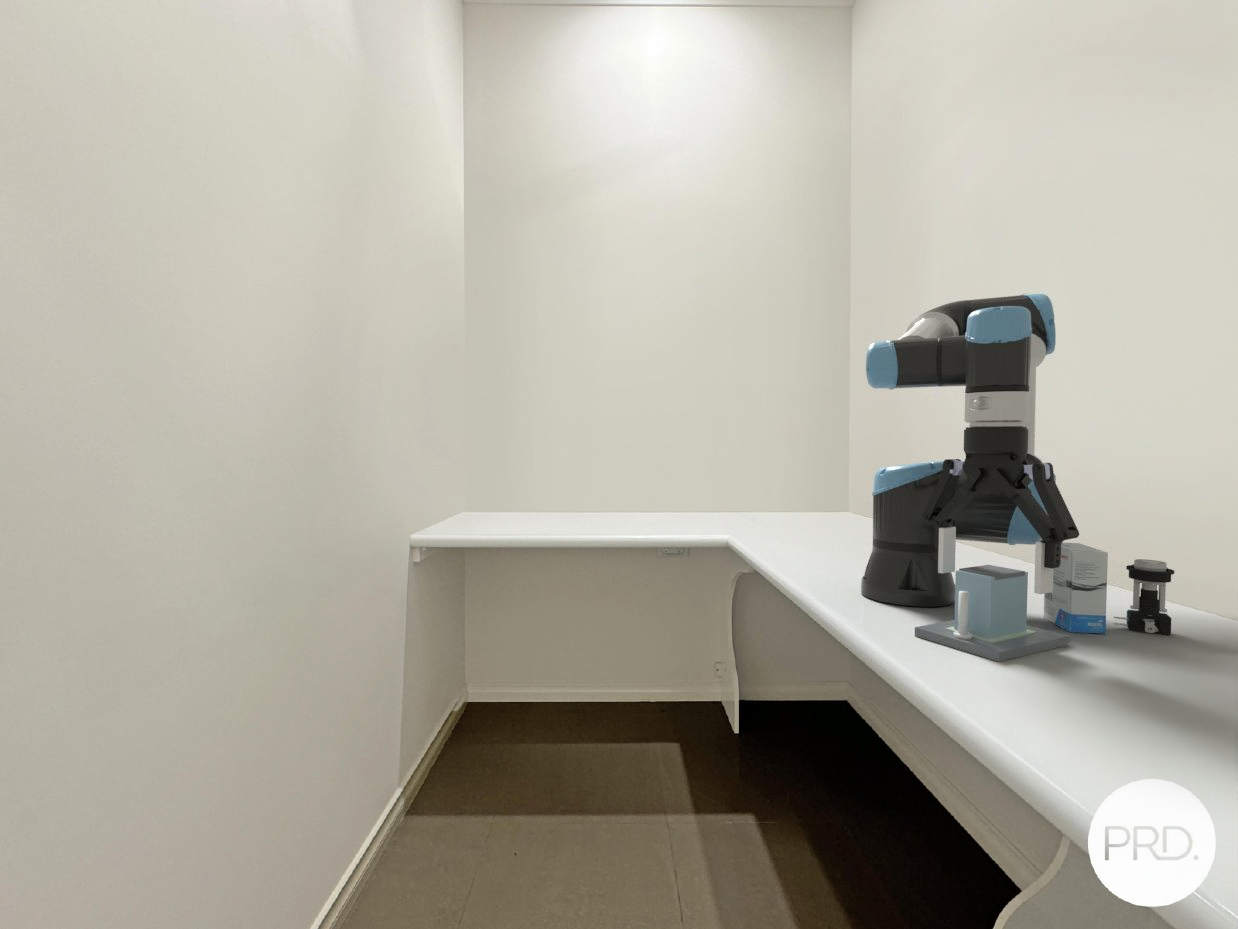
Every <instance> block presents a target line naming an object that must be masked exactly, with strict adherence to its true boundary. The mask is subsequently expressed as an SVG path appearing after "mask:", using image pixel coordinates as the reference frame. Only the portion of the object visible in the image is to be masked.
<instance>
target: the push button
mask: <svg viewBox="0 0 1238 929" xmlns="http://www.w3.org/2000/svg"><path fill="white" fill-rule="evenodd" d="M1133 561H1134V562H1133V564H1130V565H1126V570H1127V571H1128V578H1129V579H1131V580H1133V591H1132V592H1133V593H1132V594H1133V595H1132V605H1130V606H1129V607H1130V609H1127V610H1126V616H1125V617H1124V616H1122V617H1120V616H1113V619H1118V620H1125V621H1126V622H1125V623H1120V622H1119V623H1118V622H1113V623H1112V624H1113V625H1116V626H1124V627H1127V629H1128V630H1129V631H1131V632H1138V633H1139V632H1140V633H1141V632H1142V633H1149V634H1156V635H1158V634H1159V635H1163V636H1170V635H1171V634H1172V617H1171V616H1170V615H1169V614H1168V609H1167V608H1166V590H1167V589H1166V585H1167V584H1166V583H1171V582H1172V575H1175V569H1172V568H1169V567H1168V566H1167V562H1165V561H1163V560H1154V559H1138V558H1137V559H1134V560H1133Z"/></svg>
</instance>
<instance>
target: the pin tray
mask: <svg viewBox="0 0 1238 929" xmlns="http://www.w3.org/2000/svg"><path fill="white" fill-rule="evenodd" d="M968 616H969V592H967V591H959V603H958V630H956V629H954V619H951V620H946V621H941V622H935V623H930V624H925V625H920V626H915V627H914V637H917V638H921V639H924V640H927V641H931V642H933V643H937V644H940V645H944V646H947V647H950V648H953V649H956V650H958V651H962V652H966V653H969V654H972V655H976V656H978V657H982V658H985V659H989V660H991V661H995V662H998V663H1000V662H1004V661H1007V660H1012V659H1016V658H1020V657H1021V658H1022V657H1024V656H1025V657H1026V656H1029V655H1032V654H1037V653H1040V652H1044V651H1048V650H1053V649H1056V648H1062V647H1066V646H1068V645H1070V635H1067V634H1064V633H1059V632H1055V631H1053V630H1048V629H1044V628H1039V627H1036V626H1031V625H1027V624H1026V631H1023V632H1019V633H1014V634H1010V635H1005V636H1001V637H997V638H992V639H988V638H984V637H981V636H977V635H974V634H971V633H969V632H968Z"/></svg>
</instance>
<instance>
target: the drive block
mask: <svg viewBox="0 0 1238 929" xmlns="http://www.w3.org/2000/svg"><path fill="white" fill-rule="evenodd" d="M1028 577H1029V572H1028V571H1025V570H1020V569H1016V568H1010V567H1009V568H1008V567H1002V566H997V565H990V564H983V565H977V566H969V567H962V568H959V569H958V570H955V578H954V579H955V581H954V584H955V603H954V619H953V620H954V629H956V630H958V603H959V591H967V592H969V616H968V632H969V633H971V634H974V635H977V636H981V637H984V638H988V639H992V638H997V637H1001V636H1005V635H1010V634H1014V633H1019V632H1023V631H1026V625H1027V624H1028V623H1027V618H1028V616H1027V615H1028V587H1029V586H1028V585H1029V584H1028V583H1029V581H1028V579H1029V578H1028Z"/></svg>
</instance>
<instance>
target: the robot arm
mask: <svg viewBox="0 0 1238 929" xmlns="http://www.w3.org/2000/svg"><path fill="white" fill-rule="evenodd" d="M1054 313H1055V312H1054V307H1053V303H1052V300H1051V298H1050V297H1049V296H1048V295H1047V294H1044V293H1043V294H1042V293H1033V294H1032V293H1031V294H1030V293H1022V294H1019V295H1010V296H1009V295H1008V296H998V297H989V298H977V299H976V298H975V299H967V300H966V299H965V300H957V301H952V302H949V303H945V304H941V305H939V306H936V307H933V308H931V309H930V310H928V311H925V312H923V313H921V314H920V315H918V316H917V317H915V318H913V319H912V321H911V322H910V324H909V325H908V326H907V329H906V330H905V331H906V332H905V333H904V334H903V335H901V337H900V338H898V339H896V340H890V339H886V340H883V341H876V342H875V341H874V342H872V343H871V344H870V345H869V346H868V348H867V350H866V355H865V356H866V358H865V374H866V380H867V383H868V385H869V386H870V387H871V388H873V389H888V390H895V389H911V388H912V389H913V388H932V387H933V388H934V387H937V388H938V387H939V388H940V387H945V388H946V387H965V389H964V391H965V392H964V393H965V394H964V419H963V420H964V422H965V423H967V424H968V423H969V425H968V426H967V427H965V429H963V452H964V453H965V459H964V461H962V460H961V459H959V458H952V459H948V458H947V459H946V458H945V459H944V460H943V461H930V462H917V463H908V464H901V465H889V466H884V467H881V468H879V469H878V470H877V471H875V475H874V480H873V491H872V498H873V499H872V502H873V504H872V549H871V552H870V556H869V559H868V561H867V564H866V567H865V571H864V574H863V576H862V578H861V582H860V584H861V585H860V592H861V593H860V594H862V595H863V596H864V597H865V598H869V599H871V600H875V601H878V602H882V603H887V604H891V605H898V606H906V607H907V606H908V607H922V608H923V607H927V608H930V607H931V608H933V607H935V608H936V607H937V608H938V607H947V606H952V605H955V581H954V576H953V573H956V542H957V541H969V542H983V543H996V544H1007V545H1010V546H1016V545H1030V546H1031V545H1032V546H1034V545H1035V547H1034V548H1035V550H1034V552H1035V555H1034V587H1033V588H1034V590H1033V593H1034V594H1038V595H1044V594H1045V593H1049V592H1053V570H1054V568H1058V567H1059V566H1060V564H1061V543H1062V542H1063V543H1064V541H1067V540H1072V539H1077V538H1079V536H1080V532H1079V530H1078V529H1079V528H1078V527H1077V525H1076V523H1075V521H1074V518H1073V517H1072V514H1071V513H1070V511H1069V508H1068V507H1067V503H1066V501H1065V499H1064V497H1063V495H1062V494H1061V491H1060V489H1059V488H1058V485H1057V484H1056V483H1057V481H1056V480H1057V476H1056V474H1055V473H1054V466H1053V464H1052V463H1050V462H1043V461H1042V459H1040V458H1039V457H1038V456H1037V455H1035V446H1036V445H1035V444H1036V442H1035V436H1036V434H1035V433H1036V394H1037V392H1036V391H1037V367H1039V366H1040V365H1041V364H1042V363H1043V362H1044V360H1045V358H1046V356H1048V355H1051V354H1053V353H1054V351H1055V348H1056V343H1057V342H1056V335H1057V333H1056V332H1057V331H1056V323H1055V314H1054Z"/></svg>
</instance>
